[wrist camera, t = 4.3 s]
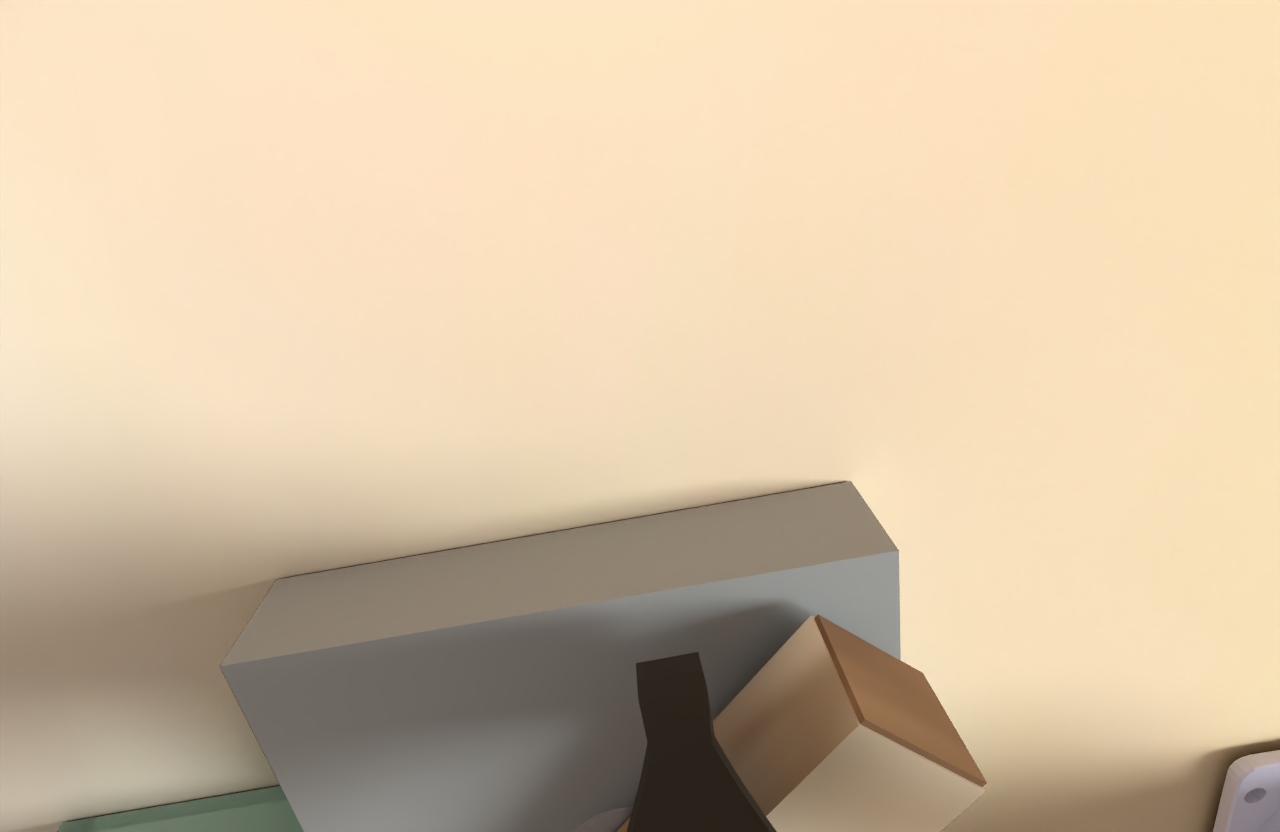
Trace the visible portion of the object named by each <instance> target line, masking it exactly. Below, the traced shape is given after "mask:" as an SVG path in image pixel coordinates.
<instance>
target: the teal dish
mask: <svg viewBox="0 0 1280 832" xmlns="http://www.w3.org/2000/svg"><path fill="white" fill-rule="evenodd" d="M57 832H304V831H303V829H302V827H301V825H300V823H299V821H298V819H297V817H296V815H295V813H294V811H293V809H292V807H291V805H290V803H289V801H288V799H287V797H286V796H285V794H284V792H283V790H282V788H281V786H276V787H270V788H264V789H258V790H252V791H246V792H241V793H235V794H229V795H223V796H217V797H211V798H205V799H199V800H193V801H188V802H182V803H176V804H170V805H164V806H158V807H152V808H146V809H140V810H135V811H129V812H123V813H117V814H111V815H105V816H99V817H93V818H87V819H82V820H76V821H70V822H64V823H63V824H62V825H61V826H60V828H59V829H58V831H57Z"/></svg>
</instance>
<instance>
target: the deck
mask: <svg viewBox="0 0 1280 832" xmlns="http://www.w3.org/2000/svg"><path fill="white" fill-rule="evenodd" d="M817 615H820V616H822V617H824V618H826V619H827V620H829V621H831V622H833V623H834V624H836V625H838V626H840V627H842V628H843V629H845V630H847V631H849V632H850V633H852V634H854V635H856V636H858V637H859V638H861V639H863V640H865V641H866V642H868V643H870V644H872V645H874V646H875V647H877V648H879V649H881V650H882V651H884V652H886V653H888V654H890V655H891V656H893V657H895V658H897V659H898V660H900V601H899V550H898V549H897V547H896V546H895V544H894V543H893V542H892V540H891V539H890V537H889V536H888V534H887V533H886V531H885V530H884V528H883V527H882V526H881V524H880V523H879V521H878V520H877V518H876V517H875V515H874V514H873V512H872V511H871V510H870V508H869V507H868V505H867V504H866V502H865V501H864V499H863V498H862V496H861V495H860V494H859V492H858V491H857V489H856V488H855V486H854V485H853V483H852V482H851V481H850V482H844V483H838V484H832V485H826V486H820V487H815V488H809V489H803V490H797V491H791V492H785V493H779V494H774V495H768V496H762V497H756V498H750V499H744V500H739V501H733V502H727V503H721V504H715V505H709V506H703V507H698V508H692V509H686V510H680V511H674V512H668V513H663V514H657V515H651V516H645V517H639V518H633V519H627V520H622V521H616V522H610V523H604V524H598V525H592V526H586V527H581V528H575V529H569V530H563V531H557V532H551V533H546V534H540V535H534V536H528V537H522V538H516V539H510V540H505V541H499V542H493V543H487V544H481V545H475V546H470V547H464V548H458V549H452V550H446V551H440V552H434V553H429V554H423V555H417V556H411V557H405V558H399V559H393V560H388V561H382V562H376V563H370V564H364V565H358V566H353V567H347V568H341V569H335V570H329V571H323V572H317V573H312V574H306V575H300V576H294V577H288V578H282V579H277V580H275V582H274V584H273V585H272V587H271V588H270V590H269V591H268V593H267V594H266V596H265V597H264V599H263V600H262V602H261V603H260V605H259V606H258V608H257V610H256V611H255V613H254V614H253V616H252V617H251V619H250V620H249V622H248V623H247V625H246V626H245V628H244V629H243V631H242V633H241V634H240V636H239V637H238V639H237V640H236V642H235V643H234V645H233V646H232V648H231V649H230V651H229V652H228V654H227V655H226V657H225V659H224V660H223V662H222V663H221V665H220V666H219V667H220V669H221V671H222V673H223V675H224V677H225V678H226V680H227V682H228V684H229V686H230V688H231V690H232V692H233V694H234V696H235V698H236V700H237V702H238V704H239V706H240V708H241V710H242V712H243V714H244V716H245V717H246V719H247V721H248V723H249V725H250V727H251V729H252V731H253V733H254V735H255V737H256V739H257V741H258V743H259V745H260V747H261V749H262V751H263V753H264V755H265V757H266V758H267V760H268V762H269V764H270V766H271V768H272V770H273V772H274V774H275V776H276V778H277V780H278V782H279V784H280V786H281V788H282V790H283V792H284V794H285V796H286V797H287V799H288V801H289V803H290V805H291V807H292V809H293V811H294V813H295V815H296V817H297V819H298V821H299V823H300V825H301V827H302V829H303V831H304V832H571V831H572V830H573V829H574V828H575V827H576V826H578V825H579V824H581V823H582V822H583V821H585V820H587V819H589V818H590V817H592V816H595V815H597V814H599V813H602V812H605V811H608V810H611V809H616V808H620V807H627V806H633V805H634V801H635V798H636V794H637V790H638V786H639V782H640V777H641V773H642V768H643V763H644V757H645V752H646V747H647V738H646V733H645V729H644V724H643V719H642V715H641V710H640V705H639V701H638V689H637V674H636V663H640V662H645V661H651V660H656V659H662V658H667V657H672V656H678V655H683V654H689V653H694V652H698V653H699V657H700V661H701V665H702V669H703V673H704V677H705V681H706V685H707V690H708V696H709V703H710V709H711V715H712V721H714V720H715V719H716V718H717V716H718V715H719V714H720V713H721V712H722V711H723V710H724V709H725V708H726V707H727V706H728V705H729V703H730V702H731V701H732V700H733V699H734V698H735V697H736V696H737V695H738V694H739V693H740V692H741V690H742V689H743V688H744V687H745V686H746V685H747V684H748V683H749V682H750V681H751V680H752V679H753V677H754V676H755V675H756V674H757V673H758V672H759V671H760V670H761V669H762V668H763V667H764V666H765V664H766V663H767V662H768V661H769V660H770V659H771V658H772V657H773V656H774V655H775V654H776V653H777V651H778V650H779V649H780V648H781V647H782V646H783V645H784V644H785V643H786V642H787V641H788V640H789V639H790V637H791V636H792V635H793V634H794V633H795V632H796V631H797V630H798V629H799V628H800V627H801V626H802V624H803V623H804V622H805V621H806V620H807V619H808V618H809V617H810V616H813V617H816V616H817Z"/></svg>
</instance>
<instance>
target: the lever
mask: <svg viewBox="0 0 1280 832" xmlns="http://www.w3.org/2000/svg"><path fill="white" fill-rule="evenodd" d="M713 728H714V734H715V738H716V739H717V741H718V743H719V744H720V746H721V748H722V749H723V751H724V753H725V754H726V756H727V758H728V759H729V761H730V763H731V764H732V766H733V768H734V769H735V771H736V773H737V774H738V776H739V777H740V779H741V780H742V782H743V784H744V785H745V787H746V788H747V790H748V791H749V793H750V794H751V796H752V797H753V798H754V800H755V801H756V803H757V804H758V806H759V807H760V809H761V810H762V812H763V813H764V815H765V816H766V817H767V819H768V820H769V822H770V823H771V824H772V826H773V827H774V828H775V830H776V831H777V832H940V831H941V830H943V829H944V828H945V827H946V826H947V825H948V824H949V823H951V822H952V821H953V820H954V819H955V818H956V817H957V816H959V815H960V814H961V813H962V812H963V811H964V810H965V809H967V808H968V807H969V806H970V805H971V804H972V803H974V802H975V801H976V800H977V799H978V798H979V797H980V796H982V795H983V794H984V793H985V792H986V790H985V789H984V787H983V786H984V785H985V784H986V783H987V782H986V781H985V779H984V777H983V775H982V774H981V772H980V770H979V769H978V767H977V765H976V763H975V762H974V760H973V758H972V757H971V755H970V753H969V751H968V750H967V748H966V746H965V745H964V743H963V741H962V739H961V738H960V736H959V734H958V733H957V731H956V729H955V727H954V726H953V724H952V722H951V721H950V719H949V717H948V715H947V714H946V712H945V710H944V709H943V707H942V705H941V703H940V702H939V700H938V698H937V697H936V695H935V693H934V691H933V690H932V688H931V686H930V685H929V683H928V681H927V679H926V678H925V676H924V674H923V673H922V672H920V671H918V670H916V669H914V668H913V667H911V666H909V665H907V664H906V663H904V662H902V661H900V660H898V659H897V658H895V657H893V656H891V655H890V654H888V653H886V652H884V651H882V650H881V649H879V648H877V647H875V646H874V645H872V644H870V643H868V642H866V641H865V640H863V639H861V638H859V637H858V636H856V635H854V634H852V633H850V632H849V631H847V630H845V629H843V628H842V627H840V626H838V625H836V624H834V623H833V622H831V621H829V620H827V619H826V618H824V617H822V616H820V615H817V616H816V617H813V616H810V617H809V618H808V619H807V620H806V621H805V622H804V623H803V624H802V626H801V627H800V628H799V629H798V630H797V631H796V632H795V633H794V634H793V635H792V636H791V637H790V639H789V640H788V641H787V642H786V643H785V644H784V645H783V646H782V647H781V648H780V649H779V650H778V651H777V653H776V654H775V655H774V656H773V657H772V658H771V659H770V660H769V661H768V662H767V663H766V664H765V666H764V667H763V668H762V669H761V670H760V671H759V672H758V673H757V674H756V675H755V676H754V677H753V679H752V680H751V681H750V682H749V683H748V684H747V685H746V686H745V687H744V688H743V689H742V690H741V692H740V693H739V694H738V695H737V696H736V697H735V698H734V699H733V700H732V701H731V702H730V703H729V705H728V706H727V707H726V708H725V709H724V710H723V711H722V712H721V713H720V714H719V715H718V716H717V718H716V719H715V720H714V721H713ZM629 820H630V818H629V819H628V820H627V821H626V822H625V823H624V824H623V825H622V826H621V827H620V828H619V829H618V831H617V832H627V828H628V824H629Z"/></svg>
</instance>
